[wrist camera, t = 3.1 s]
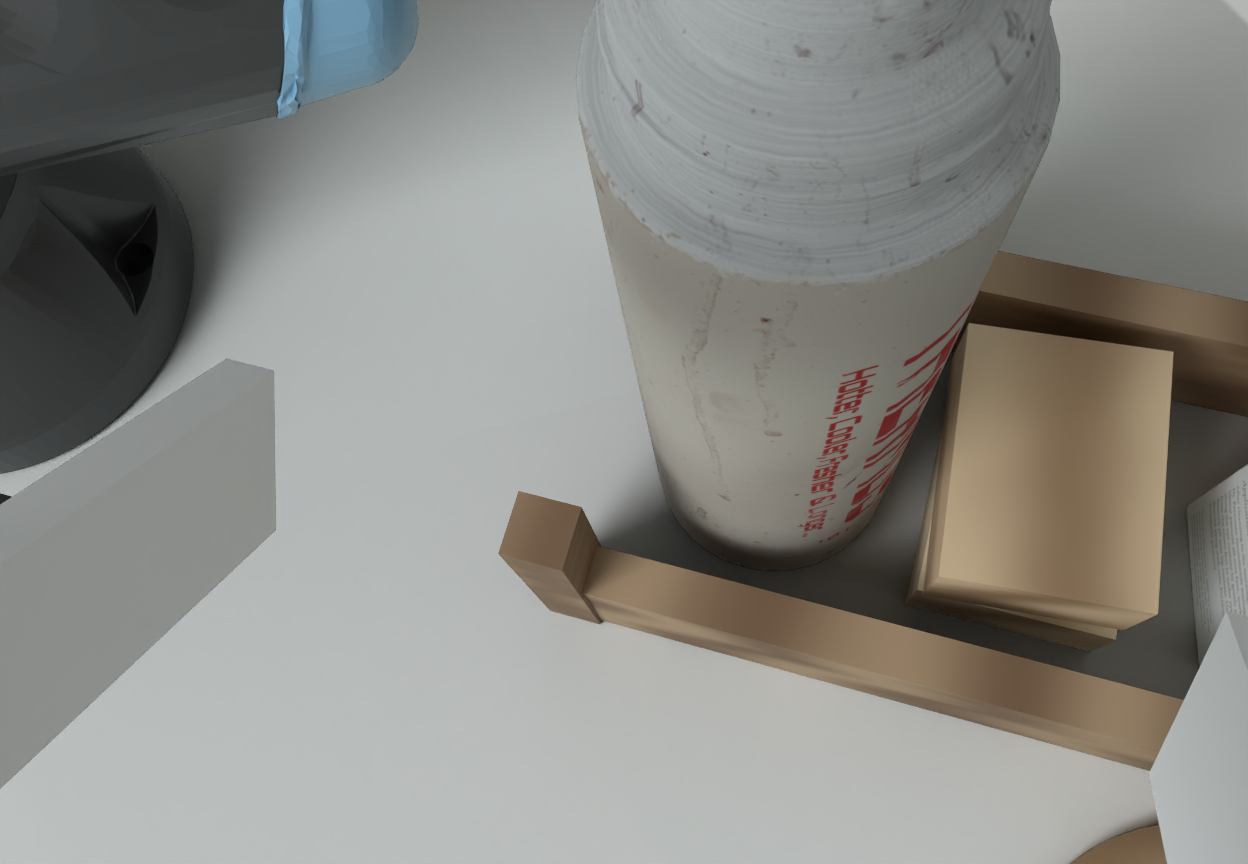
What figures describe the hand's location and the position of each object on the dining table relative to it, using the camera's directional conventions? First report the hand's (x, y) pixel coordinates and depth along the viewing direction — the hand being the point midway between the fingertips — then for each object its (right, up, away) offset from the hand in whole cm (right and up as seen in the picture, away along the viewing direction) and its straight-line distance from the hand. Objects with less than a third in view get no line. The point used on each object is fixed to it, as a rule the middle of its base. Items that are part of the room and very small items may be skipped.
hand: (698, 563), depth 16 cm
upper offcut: (+12, 0, +20) cm, 24 cm away
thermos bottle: (+4, +1, +24) cm, 25 cm away
